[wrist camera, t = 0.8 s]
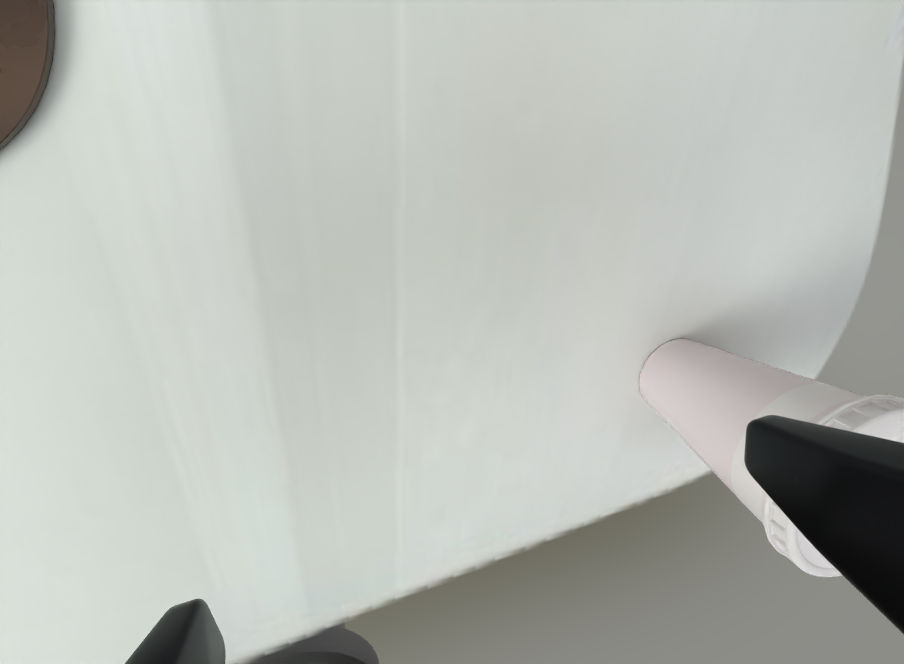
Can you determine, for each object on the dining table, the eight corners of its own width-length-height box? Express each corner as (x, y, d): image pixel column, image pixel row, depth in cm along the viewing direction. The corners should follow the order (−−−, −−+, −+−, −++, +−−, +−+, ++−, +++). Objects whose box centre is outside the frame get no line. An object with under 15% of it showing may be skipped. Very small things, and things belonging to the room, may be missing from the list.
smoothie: (592, 368, 23) (930, 632, 11) (702, 284, 23) (1172, 447, 11) (646, 455, 26) (967, 748, 13) (745, 379, 26) (1161, 600, 13)
